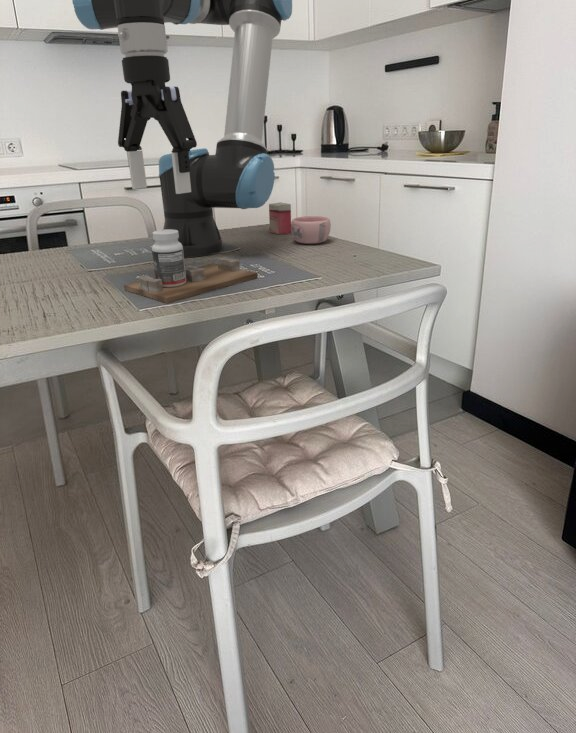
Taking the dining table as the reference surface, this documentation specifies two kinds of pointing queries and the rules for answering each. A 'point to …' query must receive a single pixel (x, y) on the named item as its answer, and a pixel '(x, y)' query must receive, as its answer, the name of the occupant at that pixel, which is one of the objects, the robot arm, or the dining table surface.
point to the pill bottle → (168, 258)
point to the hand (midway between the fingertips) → (160, 190)
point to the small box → (280, 218)
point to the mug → (310, 229)
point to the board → (194, 281)
